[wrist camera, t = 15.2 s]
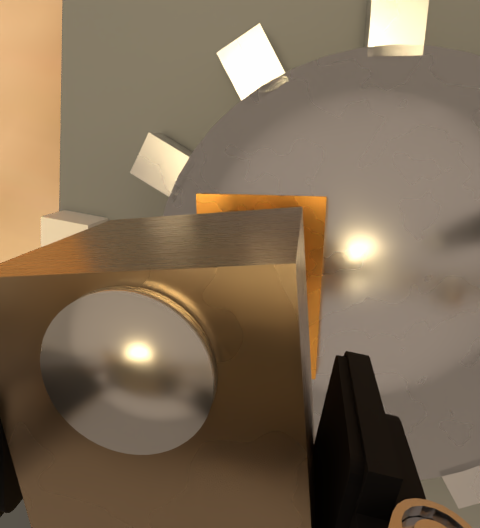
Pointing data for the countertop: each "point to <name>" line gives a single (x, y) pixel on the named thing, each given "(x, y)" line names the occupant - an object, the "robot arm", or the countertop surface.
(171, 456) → the brown rectangular block
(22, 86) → the countertop surface
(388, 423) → the robot arm
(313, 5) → the sprocket base
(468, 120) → the sprocket
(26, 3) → the countertop surface
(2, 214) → the countertop surface
